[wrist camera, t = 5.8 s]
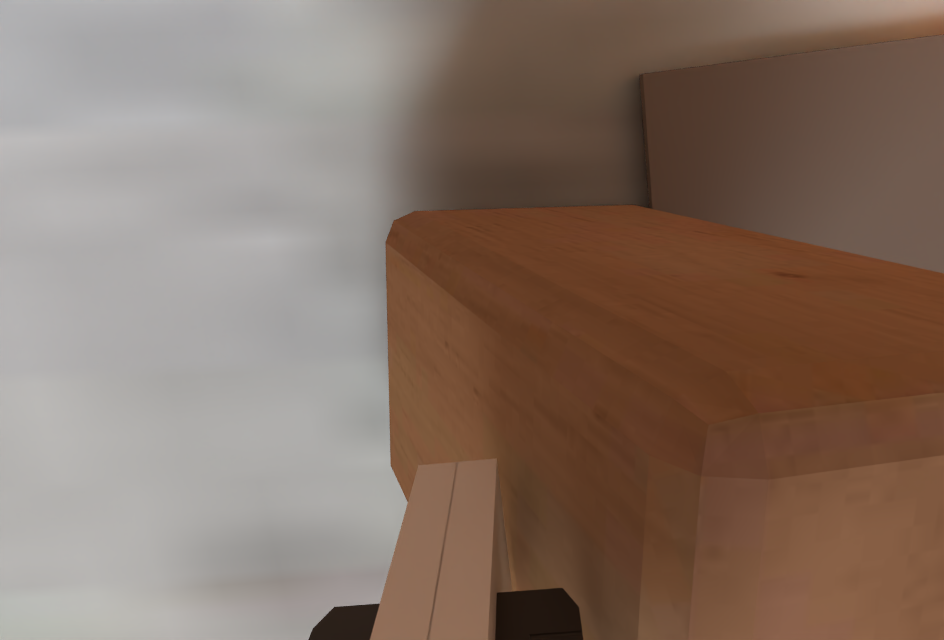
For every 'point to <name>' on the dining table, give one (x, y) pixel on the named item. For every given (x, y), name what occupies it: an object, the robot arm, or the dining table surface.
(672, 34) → the dining table surface
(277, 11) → the dining table surface
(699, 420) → the wooden block
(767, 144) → the mat
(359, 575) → the dining table surface
